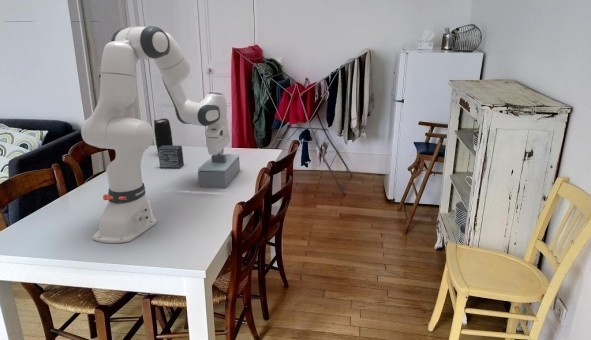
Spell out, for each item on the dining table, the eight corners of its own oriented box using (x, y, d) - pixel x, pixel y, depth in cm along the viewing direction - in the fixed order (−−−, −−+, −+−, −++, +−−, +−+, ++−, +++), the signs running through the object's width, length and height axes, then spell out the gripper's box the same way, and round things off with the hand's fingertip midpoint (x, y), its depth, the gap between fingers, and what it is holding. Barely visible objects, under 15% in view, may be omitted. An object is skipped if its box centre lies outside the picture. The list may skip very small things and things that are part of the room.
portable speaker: (168, 151, 232) (163, 117, 226) (177, 154, 226) (173, 119, 220) (154, 154, 226) (149, 120, 220) (163, 158, 221) (158, 122, 214)
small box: (184, 164, 211) (182, 144, 207) (180, 168, 205) (177, 148, 201) (164, 164, 212) (162, 144, 208) (159, 168, 206) (156, 148, 202)
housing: (226, 190, 177) (224, 173, 175) (199, 189, 179) (197, 171, 177) (240, 172, 198) (239, 156, 195) (216, 171, 200) (214, 156, 197)
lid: (225, 171, 175) (224, 163, 174) (198, 170, 177) (197, 162, 176) (239, 155, 196) (239, 148, 194) (215, 155, 197) (214, 147, 196)
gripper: (219, 123, 193) (221, 151, 198) (203, 134, 174) (206, 165, 179) (232, 123, 192) (234, 151, 197) (217, 134, 173) (220, 165, 178)
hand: (220, 158), depth 187 cm, fingers closed
